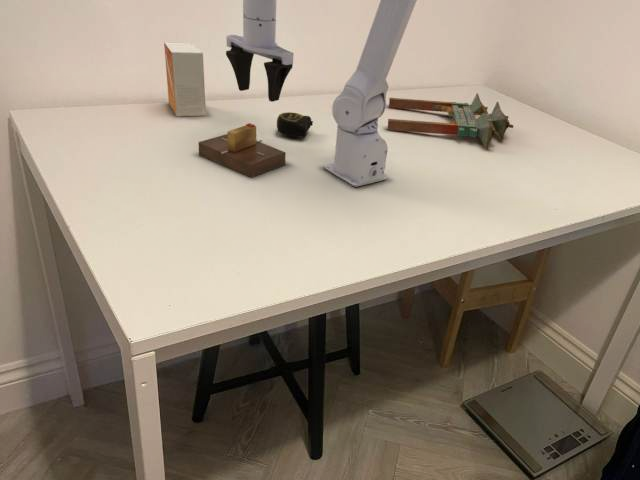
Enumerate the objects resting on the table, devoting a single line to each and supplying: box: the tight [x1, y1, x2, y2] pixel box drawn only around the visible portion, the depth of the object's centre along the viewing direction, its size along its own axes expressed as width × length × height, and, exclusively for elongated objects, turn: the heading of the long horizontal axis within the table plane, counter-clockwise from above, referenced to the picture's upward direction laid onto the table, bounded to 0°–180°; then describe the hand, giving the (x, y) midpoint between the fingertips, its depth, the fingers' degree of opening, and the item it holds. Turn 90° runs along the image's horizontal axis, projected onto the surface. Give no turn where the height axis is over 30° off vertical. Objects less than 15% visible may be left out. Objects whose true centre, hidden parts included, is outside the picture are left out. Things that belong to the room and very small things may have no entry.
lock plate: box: [198, 133, 287, 178], centre depth 103 cm, size 13×10×3 cm
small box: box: [163, 41, 207, 117], centre depth 118 cm, size 8×6×13 cm
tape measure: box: [276, 111, 314, 138], centre depth 118 cm, size 7×7×4 cm
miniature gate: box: [387, 92, 514, 151], centre depth 137 cm, size 27×6×30 cm
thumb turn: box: [227, 122, 257, 152], centre depth 101 cm, size 6×2×4 cm, turn 152°
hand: (258, 95), depth 107 cm, fingers open, 7 cm apart
